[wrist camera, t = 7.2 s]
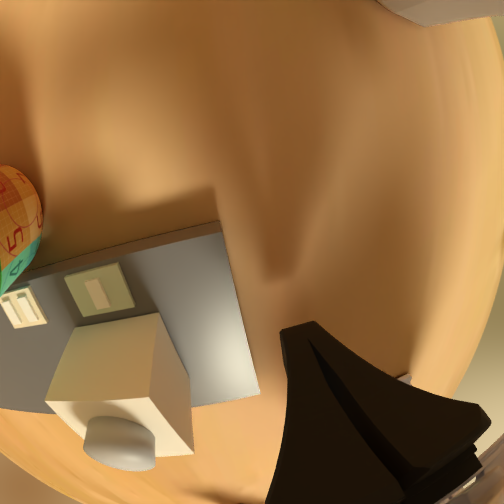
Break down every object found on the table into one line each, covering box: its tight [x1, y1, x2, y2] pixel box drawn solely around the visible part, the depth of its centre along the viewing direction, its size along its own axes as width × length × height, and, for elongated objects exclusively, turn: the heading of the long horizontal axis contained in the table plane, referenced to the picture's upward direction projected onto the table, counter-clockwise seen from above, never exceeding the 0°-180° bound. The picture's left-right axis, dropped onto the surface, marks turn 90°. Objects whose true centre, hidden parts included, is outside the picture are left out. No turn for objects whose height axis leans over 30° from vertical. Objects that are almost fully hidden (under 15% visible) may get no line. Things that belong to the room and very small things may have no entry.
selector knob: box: [44, 312, 195, 471], centre depth 8 cm, size 4×4×5 cm
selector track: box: [0, 221, 261, 414], centre depth 11 cm, size 20×9×2 cm, turn 100°
